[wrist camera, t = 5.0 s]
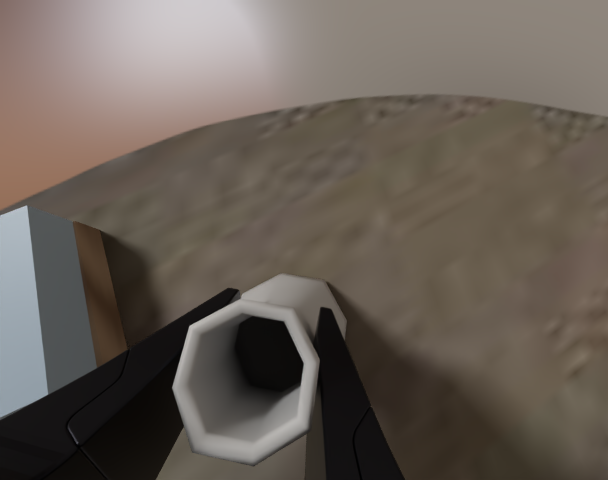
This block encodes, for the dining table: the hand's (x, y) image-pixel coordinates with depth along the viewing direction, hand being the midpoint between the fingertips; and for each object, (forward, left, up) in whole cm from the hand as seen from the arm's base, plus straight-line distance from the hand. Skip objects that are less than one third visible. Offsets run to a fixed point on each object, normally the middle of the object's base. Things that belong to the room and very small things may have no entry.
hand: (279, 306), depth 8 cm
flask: (-1, 0, -7) cm, 7 cm away
